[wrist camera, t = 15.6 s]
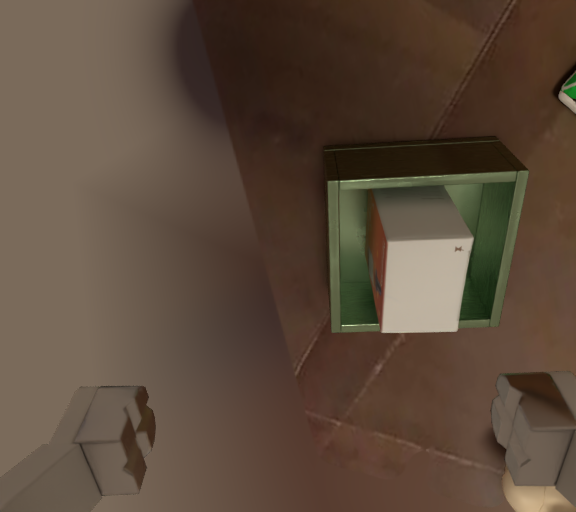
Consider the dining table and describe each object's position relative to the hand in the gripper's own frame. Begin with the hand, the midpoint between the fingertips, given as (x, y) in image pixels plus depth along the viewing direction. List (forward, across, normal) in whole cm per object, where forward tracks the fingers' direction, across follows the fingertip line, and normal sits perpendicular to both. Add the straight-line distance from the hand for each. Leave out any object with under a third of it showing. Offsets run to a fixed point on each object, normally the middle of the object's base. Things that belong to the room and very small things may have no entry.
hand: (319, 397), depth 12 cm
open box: (+31, -8, +12) cm, 34 cm away
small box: (+30, -7, +11) cm, 33 cm away
